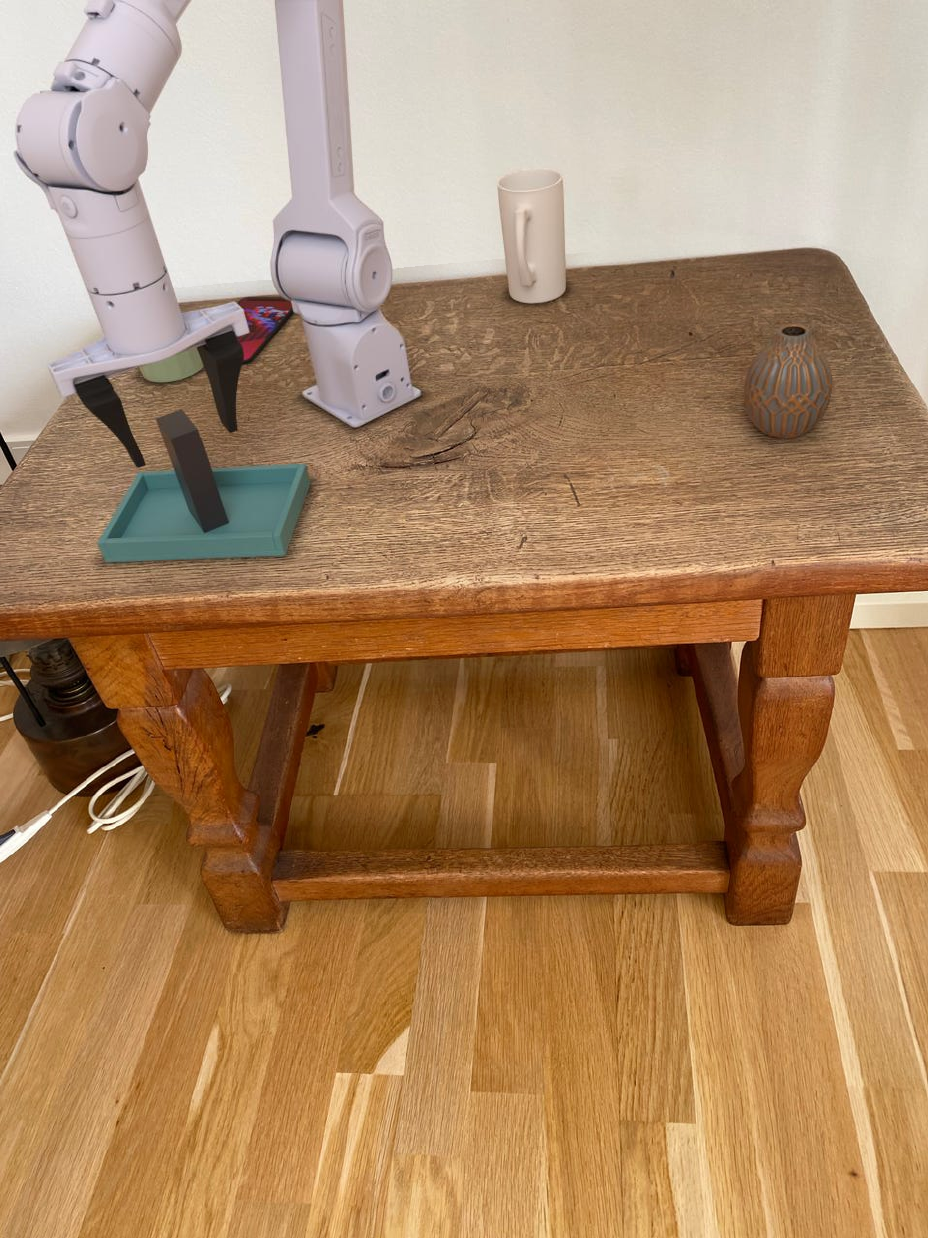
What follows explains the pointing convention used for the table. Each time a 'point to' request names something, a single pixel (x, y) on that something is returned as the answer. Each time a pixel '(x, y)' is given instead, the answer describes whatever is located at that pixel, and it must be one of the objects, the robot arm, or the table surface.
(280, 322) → the smartphone
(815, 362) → the vase
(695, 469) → the table surface
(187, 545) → the tray
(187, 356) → the cup
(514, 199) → the mug
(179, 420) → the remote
